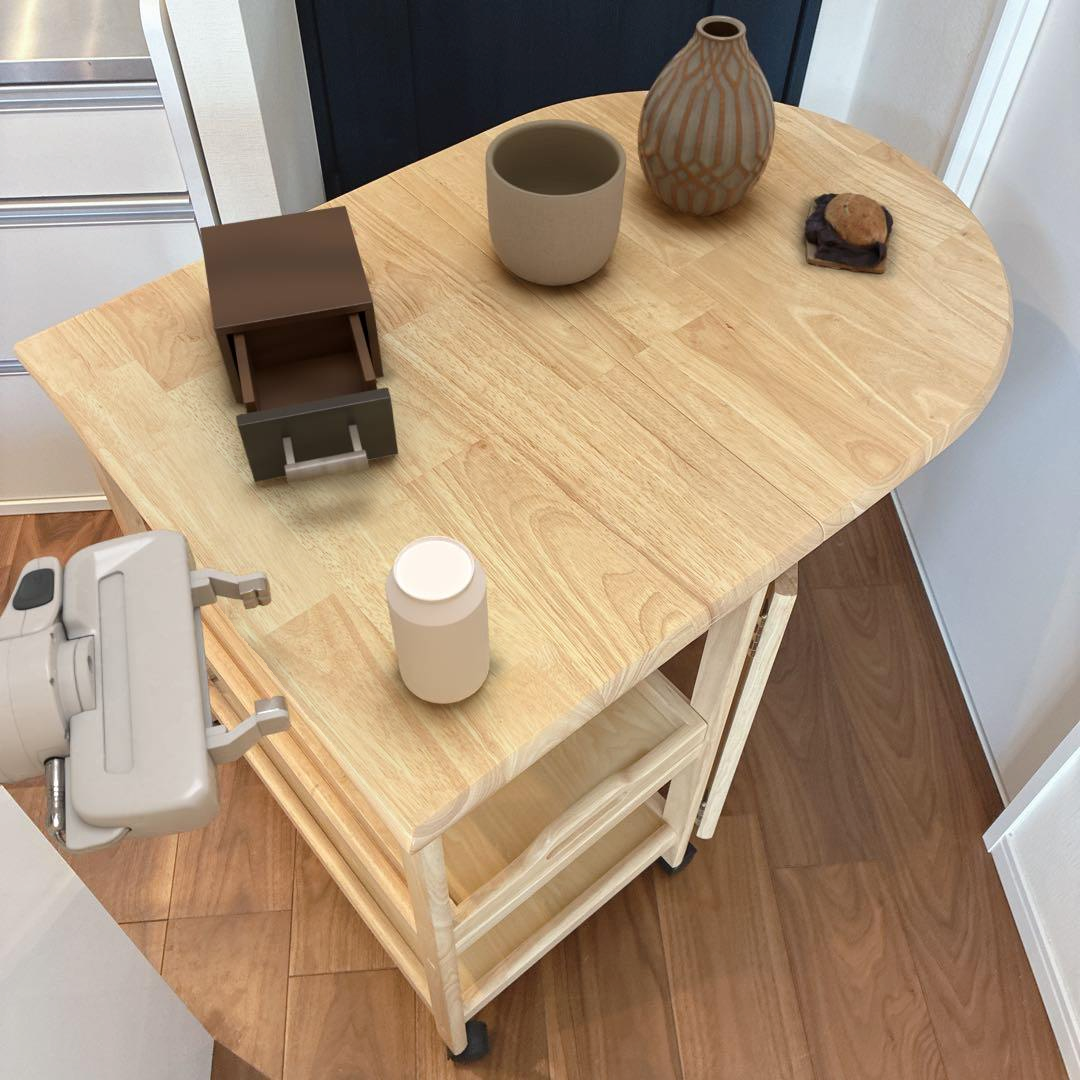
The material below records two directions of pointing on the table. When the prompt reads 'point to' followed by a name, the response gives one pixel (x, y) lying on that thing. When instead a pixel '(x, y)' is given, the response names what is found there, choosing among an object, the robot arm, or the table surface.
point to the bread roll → (848, 232)
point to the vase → (707, 122)
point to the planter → (554, 199)
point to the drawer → (311, 400)
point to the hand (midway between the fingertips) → (278, 646)
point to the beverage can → (439, 619)
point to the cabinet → (285, 278)
